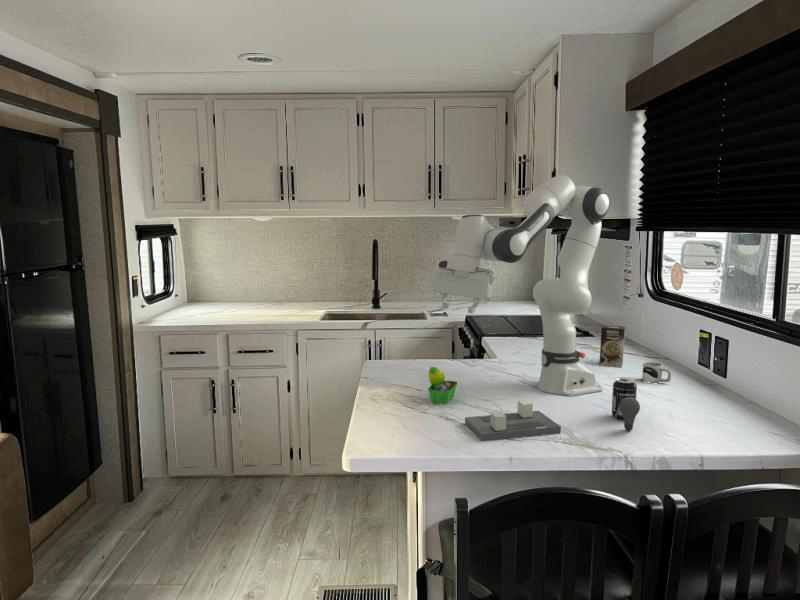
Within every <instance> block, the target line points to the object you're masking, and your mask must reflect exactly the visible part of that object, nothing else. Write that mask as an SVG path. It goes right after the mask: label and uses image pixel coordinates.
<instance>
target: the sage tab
mask: <svg viewBox="0 0 800 600" xmlns="http://www.w3.org/2000/svg"><path fill="white" fill-rule="evenodd" d="M504 414H505V413H503V412H502V411H493V412H490V415H491V427H492V428H493V429H494V430H496V431H500V430H506V416H505V415H504Z"/></svg>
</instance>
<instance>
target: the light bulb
mask: <svg viewBox="0 0 800 600" xmlns="http://www.w3.org/2000/svg"><path fill="white" fill-rule="evenodd" d="M640 405H641V404H640V402H639V401H638V399H637V398H636V399H635V398H633V397H626V398H623V399H622V400H621V402H620V404H619V407H620V410H621V413H622V415H623V419H624V420H623V425H624V428H623V429H625V430H626V431H627V432H630V431H632V430H633V429H634V423H635V419H636V417H637V415H638V414H639V412H640V411H641V406H640Z"/></svg>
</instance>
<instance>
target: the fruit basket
mask: <svg viewBox="0 0 800 600" xmlns="http://www.w3.org/2000/svg"><path fill="white" fill-rule="evenodd" d="M445 378H446V374H445V373H444V372H443V371H441V370H440V369H439V368H438V367H436V366H430V367H429V371H428V380H429V382H430V386H429V387H428V388H427V391H428V393H429V397H430V400H431V404H439V403H444V405H448V403H449V402H450V401H451V400H452V399H451V398H453V397H454V395H455V393H456V392H455V391H456V390H457V389H456V388H457V385H458V381H455V380H454V381H453V380H445ZM450 399H451V400H450Z"/></svg>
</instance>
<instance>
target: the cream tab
mask: <svg viewBox="0 0 800 600" xmlns="http://www.w3.org/2000/svg"><path fill="white" fill-rule="evenodd" d="M533 406H534V404H533V403H532V402H531V401H529V400H528V399H522V400H520V399H519V400H517V411H516V413H518V414H519V415H520V416H522V417H523V418H524V417H532V412H533V411H534V410H533Z"/></svg>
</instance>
